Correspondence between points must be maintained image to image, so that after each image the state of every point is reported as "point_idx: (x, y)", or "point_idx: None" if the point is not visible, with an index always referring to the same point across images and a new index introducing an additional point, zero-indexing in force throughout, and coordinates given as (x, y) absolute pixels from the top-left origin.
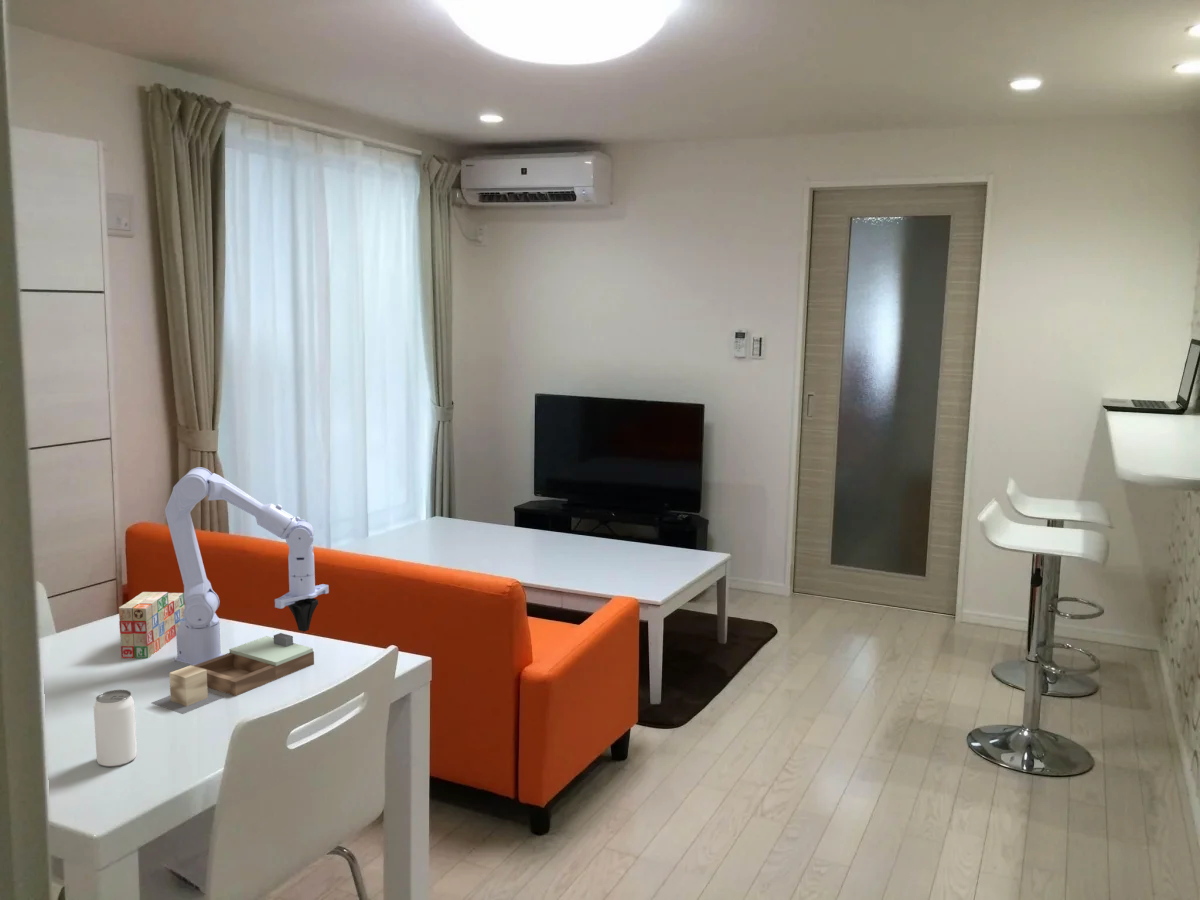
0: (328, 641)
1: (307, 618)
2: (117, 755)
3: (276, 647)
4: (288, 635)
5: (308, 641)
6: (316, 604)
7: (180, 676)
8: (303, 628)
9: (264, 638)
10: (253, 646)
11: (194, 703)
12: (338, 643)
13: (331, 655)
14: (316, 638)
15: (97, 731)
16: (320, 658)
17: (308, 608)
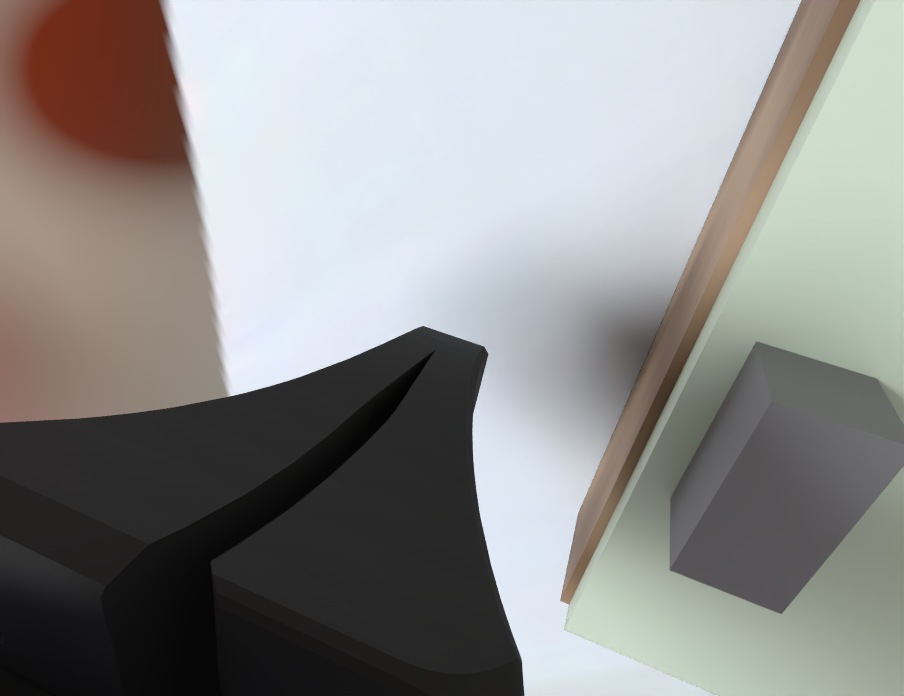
0: (225, 238)
1: (397, 410)
2: None
3: (901, 475)
4: (751, 462)
5: (292, 365)
6: (41, 441)
7: None
8: (478, 380)
9: (631, 632)
10: (890, 671)
11: None
12: (213, 140)
13: (451, 14)
14: (229, 342)
15: None
16: (557, 73)
17: (312, 527)
